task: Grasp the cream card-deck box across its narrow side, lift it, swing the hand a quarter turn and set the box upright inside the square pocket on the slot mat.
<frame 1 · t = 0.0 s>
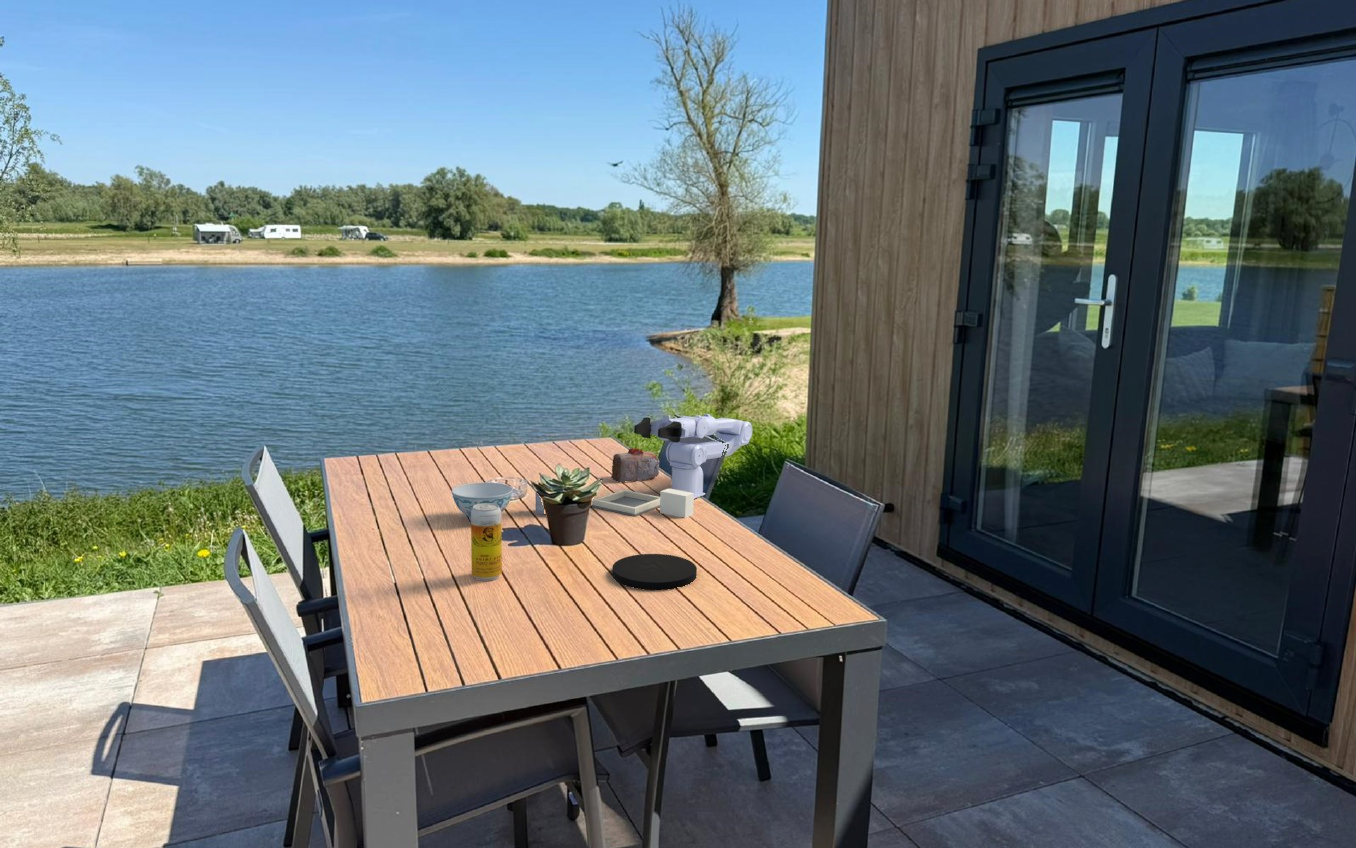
hand: (647, 431, 226), 22 cm above the table, tool horizontal, fingers open, 7 cm apart
slot mat: (629, 505, 235), on the table
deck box: (676, 514, 228), on the table
chinaware: (482, 519, 219), on the table
medicine box: (552, 514, 226), on the table
wireless charger: (654, 577, 182), on the table
food item: (635, 480, 265), on the table
beer can: (486, 577, 178), on the table
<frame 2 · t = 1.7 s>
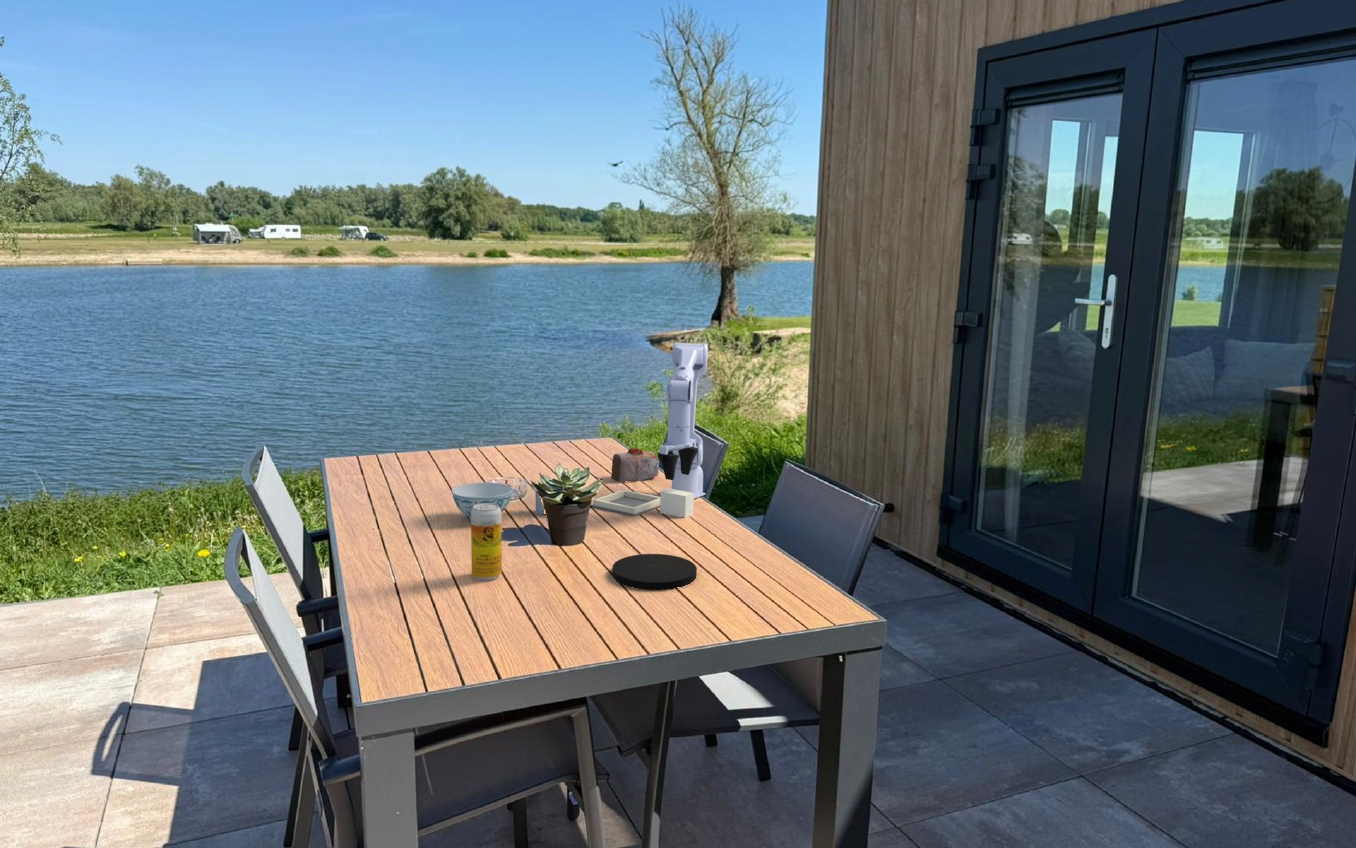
hand: (677, 476, 226), 10 cm above the table, tool pointing down, fingers open, 7 cm apart
nothing on the table moved.
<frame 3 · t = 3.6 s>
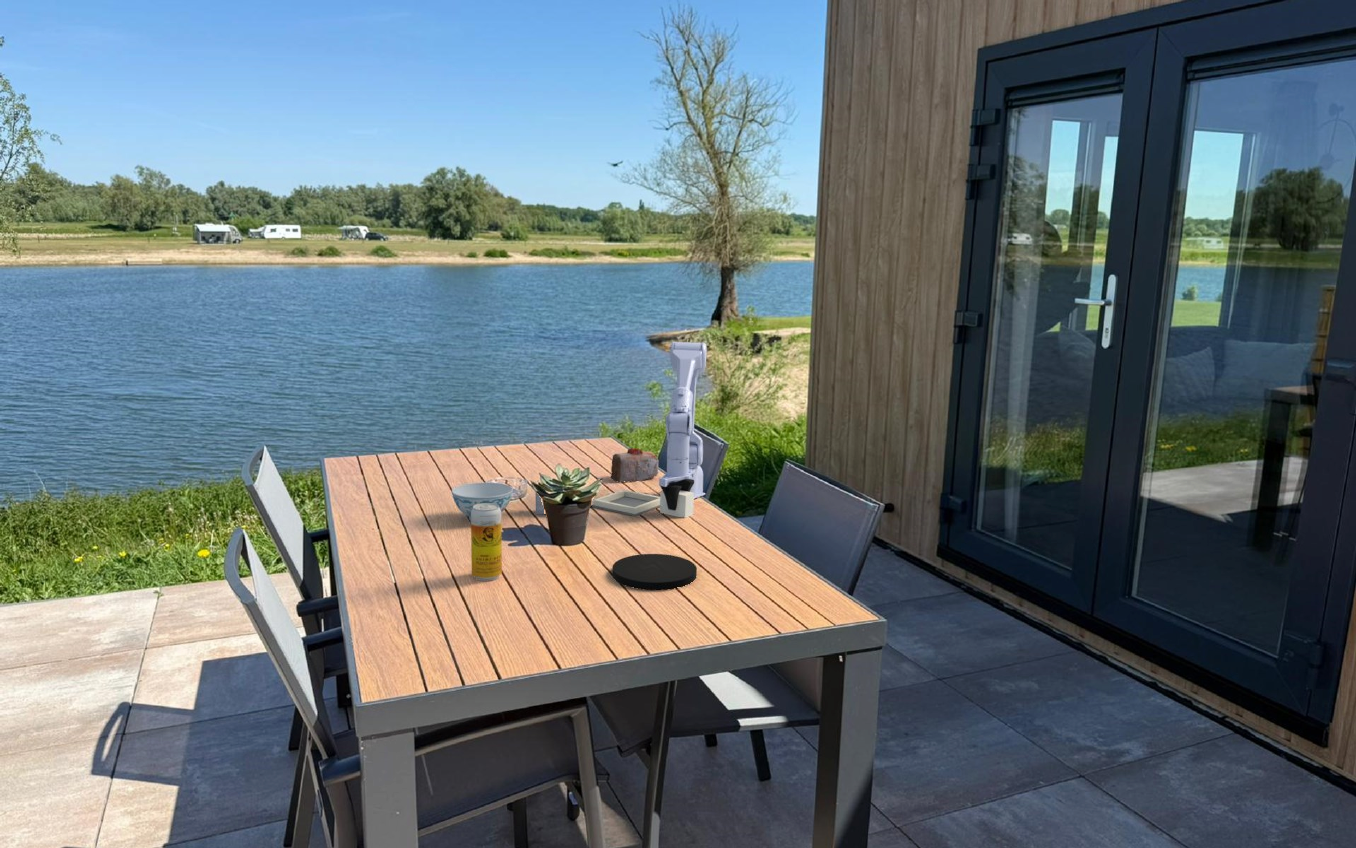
hand: (676, 507, 228), 2 cm above the table, tool pointing down, fingers closed on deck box, 4 cm apart
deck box: (676, 513, 228), on the table, touching gripper
everything else where it was.
when the fingers open (3 cm above the table, at t = 9.1 s): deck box stays where it is, resting on slot mat.
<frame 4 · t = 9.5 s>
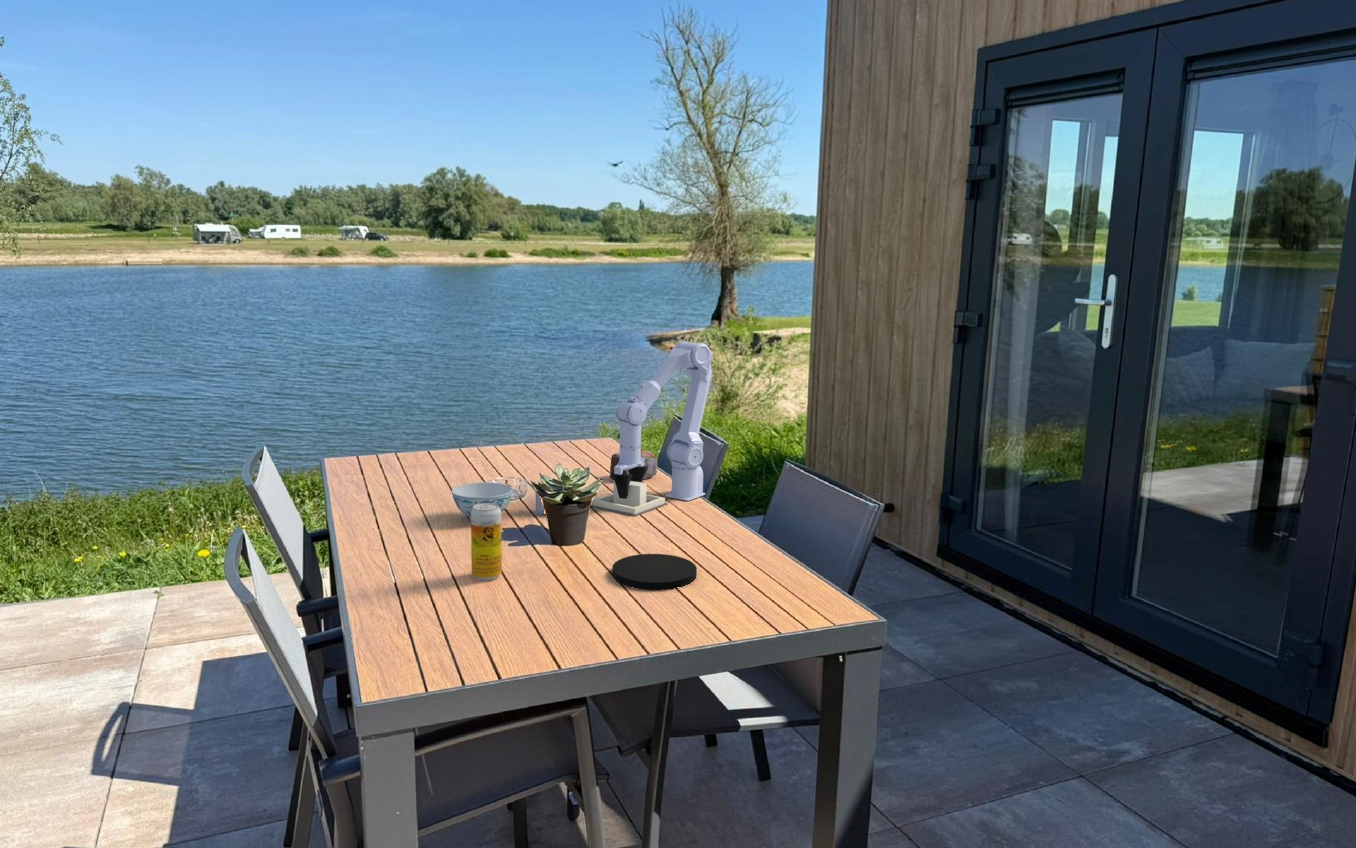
hand: (629, 495, 234), 3 cm above the table, tool pointing down, fingers open, 7 cm apart
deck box: (629, 504, 235), resting on slot mat
everything else where it was.
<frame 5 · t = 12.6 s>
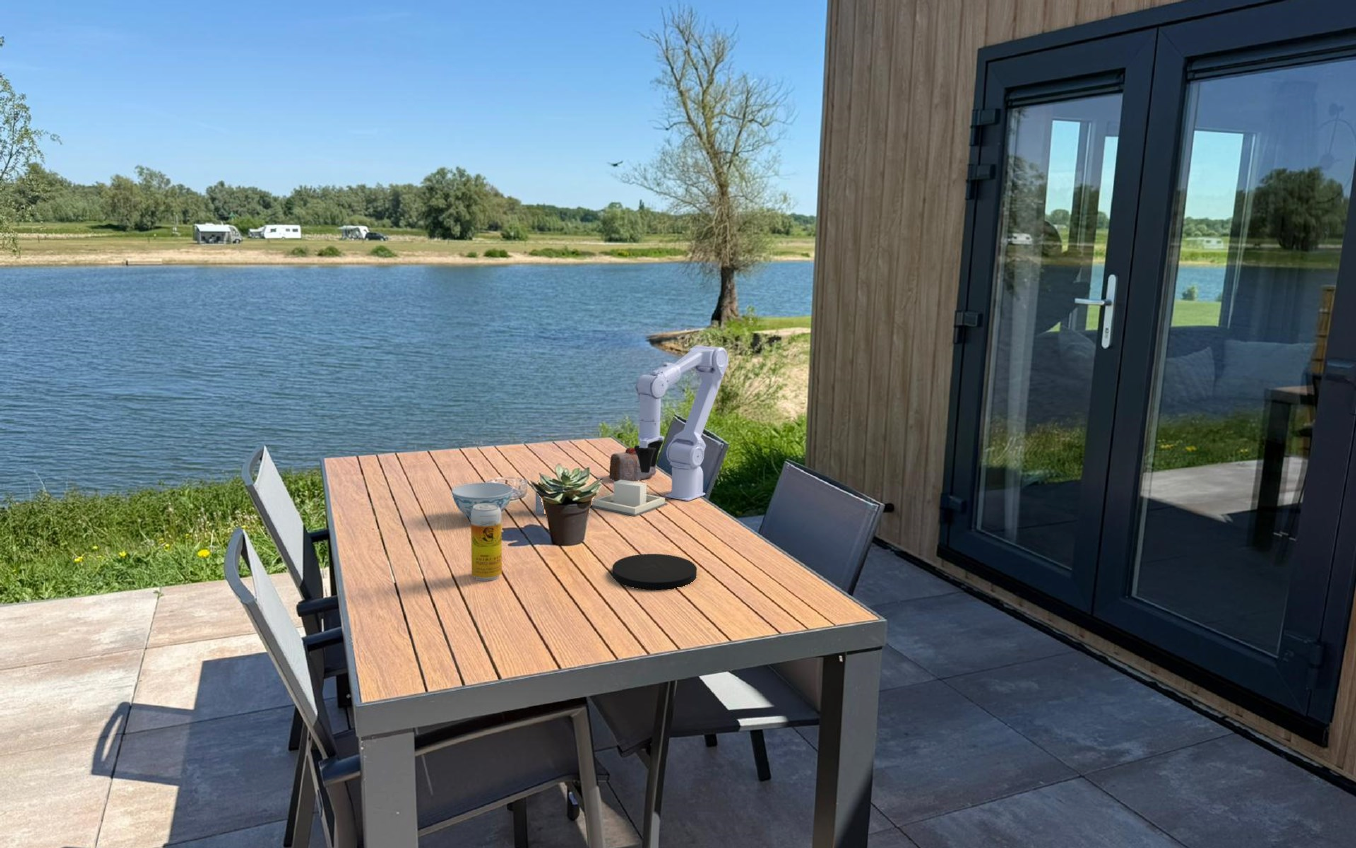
hand: (648, 469, 232), 10 cm above the table, tool pointing down, fingers open, 7 cm apart
at the end: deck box 0.2 cm off-centre on the slot mat, point 0.4 cm above the slot mat's base; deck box tilted 0°; the gripper is holding nothing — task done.
